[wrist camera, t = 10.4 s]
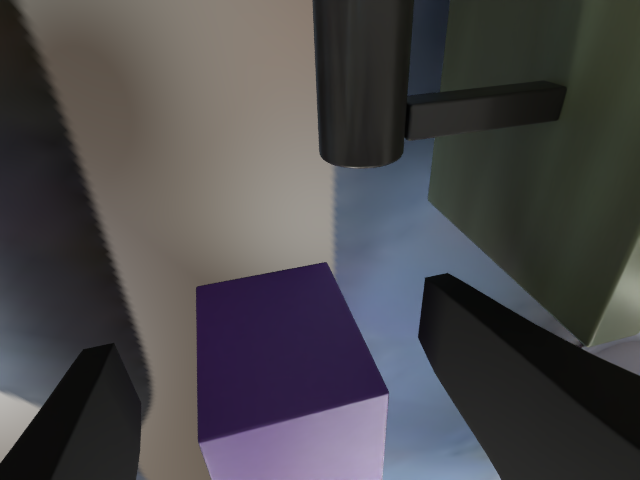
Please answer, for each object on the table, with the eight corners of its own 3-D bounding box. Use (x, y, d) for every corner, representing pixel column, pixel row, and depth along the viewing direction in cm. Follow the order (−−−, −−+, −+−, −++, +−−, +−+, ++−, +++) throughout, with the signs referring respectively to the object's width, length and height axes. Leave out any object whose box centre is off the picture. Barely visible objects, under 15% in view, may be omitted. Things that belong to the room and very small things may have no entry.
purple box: (226, 402, 16) (239, 560, 12) (195, 286, 13) (197, 442, 9) (331, 376, 17) (380, 515, 13) (327, 260, 14) (390, 392, 10)
